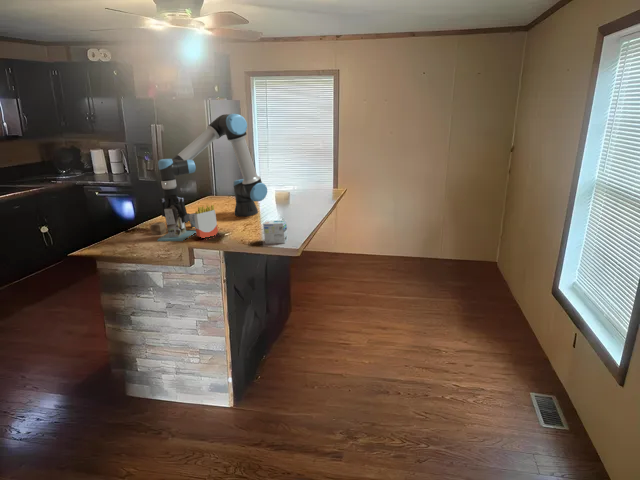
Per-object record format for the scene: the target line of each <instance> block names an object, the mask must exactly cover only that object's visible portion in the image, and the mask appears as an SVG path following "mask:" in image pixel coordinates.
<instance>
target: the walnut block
mask: <svg viewBox="0 0 640 480" xmlns="http://www.w3.org/2000/svg"><path fill="white" fill-rule="evenodd" d="M149 227H150V228H149V229H150V231H151V235H152V236H163V235H165V234H167V233H168V230H167V225H166V221H165V222H164V221H163V222H162V221H161V222H160V221H159V222H156V221H155V222H154V223H152V224H150V225H149Z"/></svg>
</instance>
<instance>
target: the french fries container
mask: <svg viewBox="0 0 640 480" xmlns="http://www.w3.org/2000/svg"><path fill="white" fill-rule="evenodd" d="M197 208H198V209H197V211H194V213H195V228H194V229H195V231H196V234H195V235H196V236H197V237H199V238H200V237H201V238H200V239H202V238H205V237H210V236H214V235H215V236H216V235H217V234H218V232H219V230H218V224H217V215H216V210H215V206H214V205H213V204H211V205H210V206H209V204H208V205H207V204H206V207H205V208H204V206H198V207H197Z"/></svg>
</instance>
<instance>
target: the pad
mask: <svg viewBox="0 0 640 480" xmlns="http://www.w3.org/2000/svg"><path fill="white" fill-rule="evenodd" d="M194 233H196V230H186V233H185V234H183V235H181V236H180V237H169V234H168V233H165V234H163V235H161V236H160V237H158V238H157V242H184V241H183V240H185V239H186V238H188V237H189V236H191V235H193V234H194ZM193 236H194V235H193ZM188 239H189V238H188ZM185 241H186V240H185Z"/></svg>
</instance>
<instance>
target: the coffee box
mask: <svg viewBox="0 0 640 480" xmlns="http://www.w3.org/2000/svg"><path fill="white" fill-rule="evenodd" d="M179 206H180V204H179ZM180 207H181V206H180ZM165 208H166V207H165ZM164 211H165V217H166V218H165V217H164V218H165V224H166V230H167V234H169V237H180V236H181V235H183V234H185V233H186V231H187V228H186V223H185V222H184V226H185V228H183V229H181V225H180V219H179V218H180V215H179V213H178V209H177V207H175V206H174V205H171V207H169V208H166V209H164Z"/></svg>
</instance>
